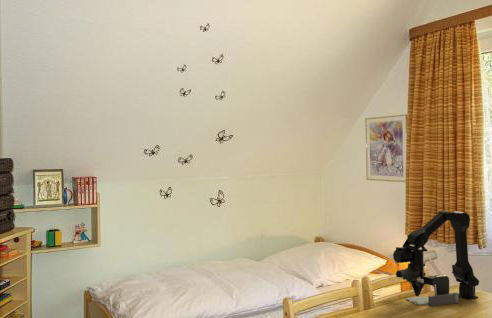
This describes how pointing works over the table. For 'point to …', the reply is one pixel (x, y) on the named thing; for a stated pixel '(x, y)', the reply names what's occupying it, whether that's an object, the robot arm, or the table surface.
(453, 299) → the grey rectangular bar
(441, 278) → the battery
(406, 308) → the table surface
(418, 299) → the mat
